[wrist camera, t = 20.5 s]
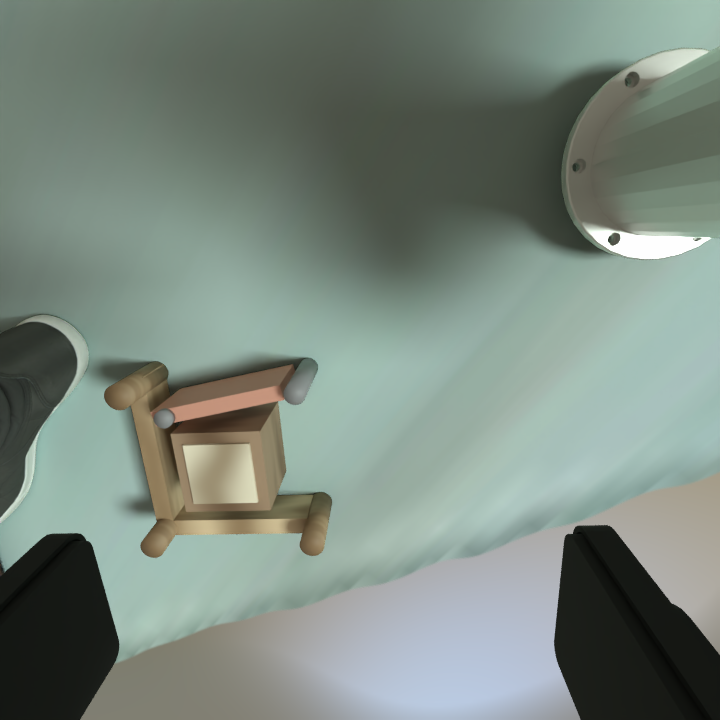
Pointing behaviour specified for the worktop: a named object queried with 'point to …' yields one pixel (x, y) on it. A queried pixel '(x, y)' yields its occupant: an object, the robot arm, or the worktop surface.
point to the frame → (165, 488)
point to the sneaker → (32, 394)
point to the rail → (237, 393)
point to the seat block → (231, 459)
